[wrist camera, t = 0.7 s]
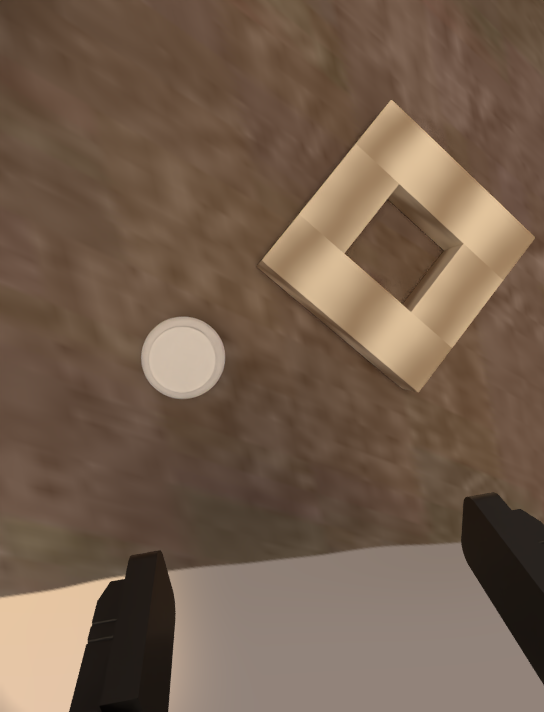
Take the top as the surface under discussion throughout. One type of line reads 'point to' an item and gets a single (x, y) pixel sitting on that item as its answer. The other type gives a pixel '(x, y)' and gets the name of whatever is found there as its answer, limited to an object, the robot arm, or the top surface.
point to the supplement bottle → (183, 357)
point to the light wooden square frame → (426, 210)
